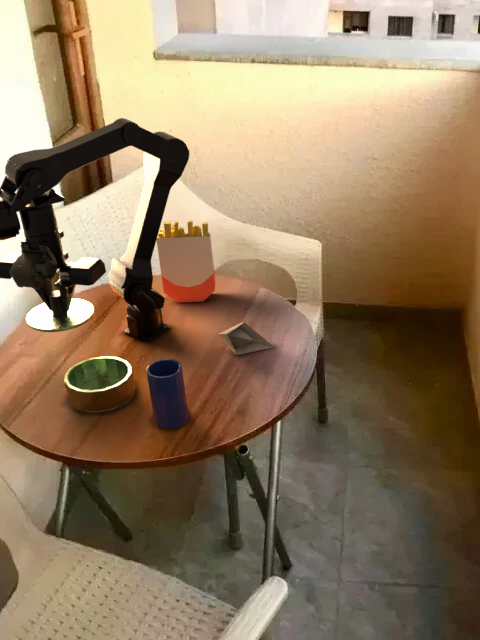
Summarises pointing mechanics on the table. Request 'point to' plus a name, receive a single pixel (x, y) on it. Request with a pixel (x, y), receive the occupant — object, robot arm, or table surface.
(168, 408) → the cup
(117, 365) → the pot
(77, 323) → the lid
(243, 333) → the paper boat
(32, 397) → the table surface
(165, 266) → the french fries container
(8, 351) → the table surface
